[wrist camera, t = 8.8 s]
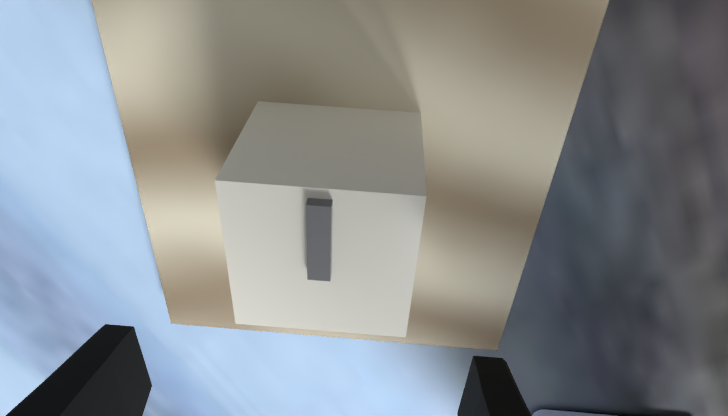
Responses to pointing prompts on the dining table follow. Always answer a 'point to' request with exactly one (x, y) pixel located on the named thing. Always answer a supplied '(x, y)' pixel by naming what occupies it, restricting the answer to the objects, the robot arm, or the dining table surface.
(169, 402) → the dining table surface
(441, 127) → the board
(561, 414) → the robot arm
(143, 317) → the dining table surface
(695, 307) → the dining table surface
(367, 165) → the white cabinet with handle
